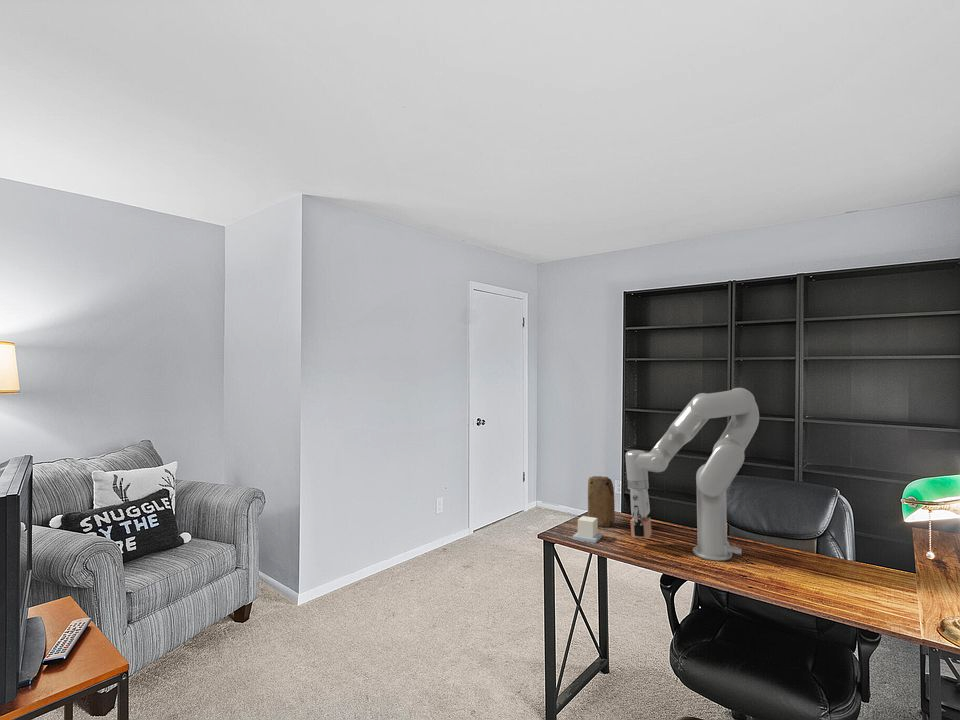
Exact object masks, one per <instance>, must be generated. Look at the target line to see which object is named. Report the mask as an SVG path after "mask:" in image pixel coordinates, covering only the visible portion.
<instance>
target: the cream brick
mask: <svg viewBox="0 0 960 720" xmlns="http://www.w3.org/2000/svg"><path fill="white" fill-rule="evenodd" d="M598 529H599V527H598V518H593V517H589V516H587V515H586V516H585V515H582V516H581V517H580V518H578V519H577V532H578V536H584V537H590V538H593V537H594V536H596V535H597V534H598V533H599V532H598V531H599V530H598Z"/></svg>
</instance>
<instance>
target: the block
mask: <svg viewBox="0 0 960 720" xmlns="http://www.w3.org/2000/svg"><path fill="white" fill-rule="evenodd" d="M614 489H615V488H614V485H613V481H612V480H611V478H609V477H608V476H601V475H600V476H597V475H596V476H595V475H593V476H591V477H588V480H587V514H588V515H587V517H593V518H598V526H600V527H601V528H603V527H604V528H610V526H611V527H613V526H614V525H615V522H616V520H615V519H616V517H615V516H616V515H615V513H616V512H615V490H614Z"/></svg>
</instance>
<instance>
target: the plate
mask: <svg viewBox="0 0 960 720" xmlns="http://www.w3.org/2000/svg"><path fill="white" fill-rule="evenodd" d="M602 537H603V532H598V534H597V535H596V536H594V537H593V538H590V537H584V536H578V531H577V532H576V533H574V534H573V535H572V540H575V541H580V542H581V541H582V542H588V543H592V544H596V543H598V541H600V539H602Z"/></svg>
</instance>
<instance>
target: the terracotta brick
mask: <svg viewBox="0 0 960 720" xmlns="http://www.w3.org/2000/svg"><path fill="white" fill-rule="evenodd" d="M638 519H639V520H640V518H638ZM629 522H630V533H631V535H630V536H631V538H636V539H639V538H640V539H650V537H651V536H652V534H653V533H652V521H651V517H648V516H647V517H645V518H643V517H642V525H643V528H644V536H643V537H640V536H635V531H634V517H633V516H632V518H631V519H630V521H629Z"/></svg>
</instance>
